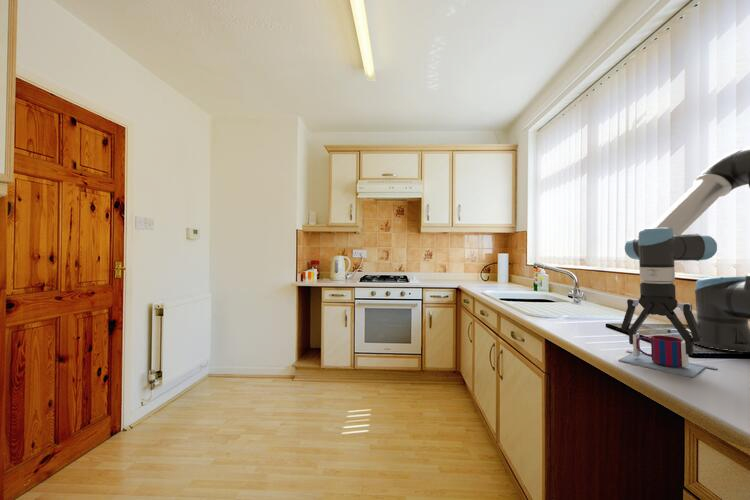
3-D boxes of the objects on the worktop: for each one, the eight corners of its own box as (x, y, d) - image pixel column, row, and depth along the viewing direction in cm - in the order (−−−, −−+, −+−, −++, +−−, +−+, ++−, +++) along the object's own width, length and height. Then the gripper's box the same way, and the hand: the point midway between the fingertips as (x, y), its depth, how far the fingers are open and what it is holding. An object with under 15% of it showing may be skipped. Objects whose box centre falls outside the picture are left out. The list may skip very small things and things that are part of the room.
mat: (632, 354, 100) (632, 352, 100) (704, 368, 87) (704, 367, 87) (618, 361, 94) (618, 359, 94) (693, 377, 81) (693, 376, 81)
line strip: (628, 351, 103) (628, 350, 103) (717, 368, 86) (717, 367, 86) (626, 352, 102) (626, 351, 102) (716, 370, 85) (716, 369, 85)
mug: (682, 368, 84) (681, 343, 85) (634, 359, 92) (634, 336, 92) (685, 362, 89) (684, 338, 89) (639, 354, 96) (639, 332, 97)
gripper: (605, 280, 98) (608, 353, 98) (709, 285, 79) (713, 375, 79) (616, 279, 102) (618, 349, 102) (717, 283, 83) (720, 369, 83)
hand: (659, 360), depth 90 cm, fingers closed on mug, 10 cm apart
